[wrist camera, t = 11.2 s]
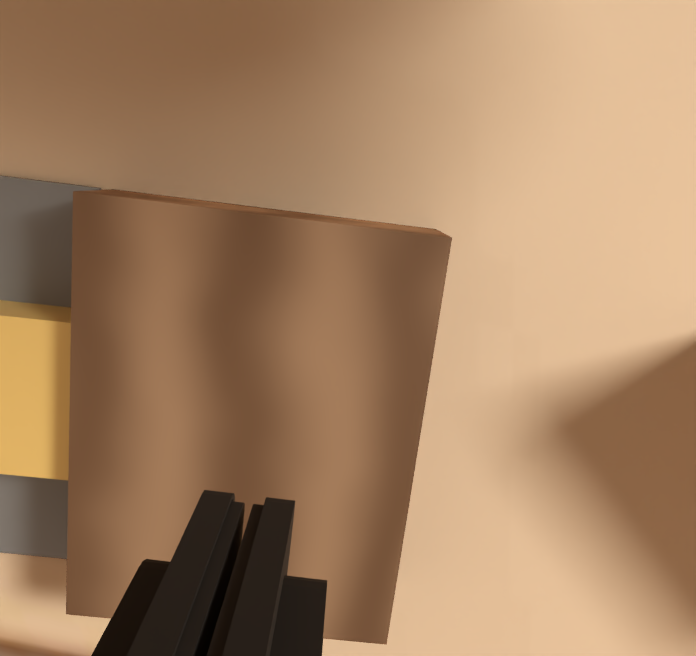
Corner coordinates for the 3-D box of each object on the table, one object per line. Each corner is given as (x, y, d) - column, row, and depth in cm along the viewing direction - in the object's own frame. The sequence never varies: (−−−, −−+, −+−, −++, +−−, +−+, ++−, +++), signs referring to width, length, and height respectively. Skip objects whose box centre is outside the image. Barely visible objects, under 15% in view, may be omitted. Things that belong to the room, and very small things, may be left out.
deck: (435, 229, 27) (451, 237, 23) (380, 585, 31) (386, 644, 27) (112, 189, 26) (72, 191, 22) (101, 558, 30) (66, 614, 26)
